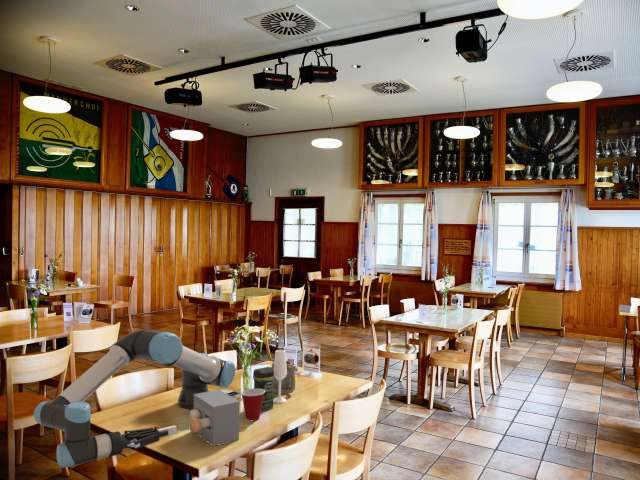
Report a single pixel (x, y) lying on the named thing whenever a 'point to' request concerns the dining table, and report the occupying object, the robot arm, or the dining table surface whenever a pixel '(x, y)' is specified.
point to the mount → (218, 416)
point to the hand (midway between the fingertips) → (175, 429)
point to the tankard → (286, 379)
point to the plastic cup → (252, 403)
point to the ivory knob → (195, 414)
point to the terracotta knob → (199, 424)
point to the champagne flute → (280, 372)
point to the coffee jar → (265, 385)
